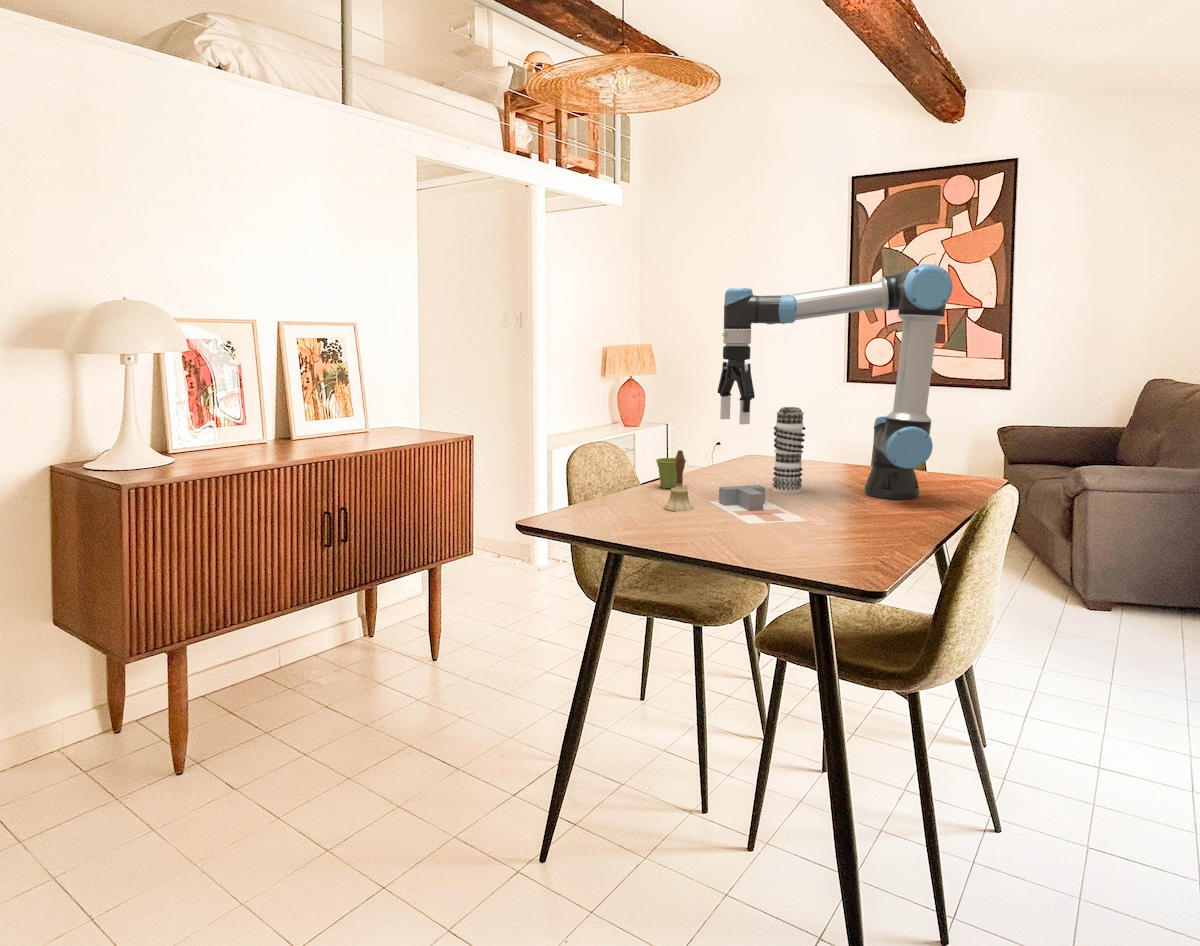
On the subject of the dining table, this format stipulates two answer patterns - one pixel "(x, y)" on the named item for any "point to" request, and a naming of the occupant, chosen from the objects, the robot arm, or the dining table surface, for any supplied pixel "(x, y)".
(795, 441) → the decorative candle
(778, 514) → the board
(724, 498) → the T block
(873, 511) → the dining table surface
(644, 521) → the dining table surface
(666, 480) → the plant pot
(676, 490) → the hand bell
